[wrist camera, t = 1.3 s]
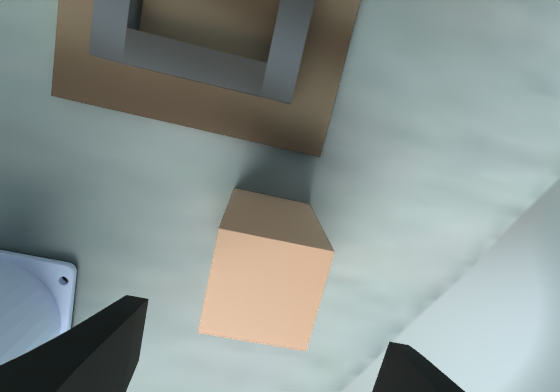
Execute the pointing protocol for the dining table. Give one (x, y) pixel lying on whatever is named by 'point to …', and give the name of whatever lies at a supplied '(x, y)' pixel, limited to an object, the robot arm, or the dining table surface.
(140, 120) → the dining table surface
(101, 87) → the socket board
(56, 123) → the dining table surface
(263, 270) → the beige upright block
